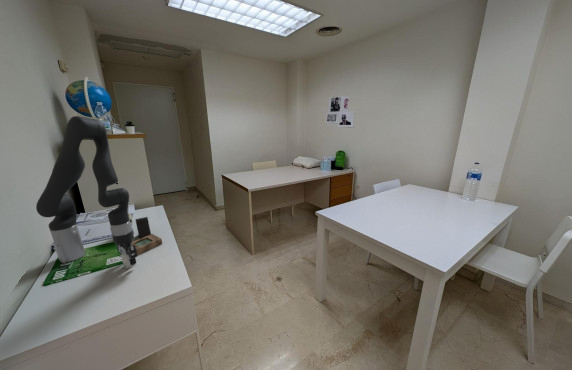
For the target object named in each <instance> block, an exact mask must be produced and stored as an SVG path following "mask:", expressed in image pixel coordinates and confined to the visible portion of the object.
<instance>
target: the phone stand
mask: <svg viewBox="0 0 572 370" xmlns="http://www.w3.org/2000/svg"><path fill="white" fill-rule="evenodd" d="M135 224H136V227H137V228H136V230H137V234H138V237H139V239H141V238H143V237H146V236H148V235H151V234H152V233H151V228H150V222H149V217H148V216H144V217H141V218H135Z"/></svg>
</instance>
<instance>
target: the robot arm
mask: <svg viewBox="0 0 572 370" xmlns="http://www.w3.org/2000/svg"><path fill="white" fill-rule="evenodd" d="M83 140H87V141H88V140H90V141H93V143H94V145H95V149H96V151H95V155H94V158H93V160H92V167H91V168H92V171H93V175H94V177H95V179H96V183H97V187H98V188H97V191H98V193H97V201H98V203H99V205H100V206H101V207H103V208H111V207H114V206H117V207H116V208H114V209H112V210H110V211H109V212H108V213H107V217H108V222H109V225H110V233H111V236H112V241H113V243H114V244H116V245H115V246H116V249H117V251H118V252H119V253H120V254H121V251H122V250H123V251H124V253H125V254H126V255H128V257H129V261H130V265H134V264H135V265H137V260H136V258H137V257H138V255H137V252H136V248H135V245H133V246H132V243H131V242H132V241H133V240H134V237H135V236H134V234H133V232H134V230H133V231H132V229H133V227H132V225H131V223H130V220H129V216H128V214H129V202H130V194H129V191H128V190H127V189H125V188H123V187H120V188H115V189H114V188H113V189H109V190H107V188H108V187H110V186H112V185H115V184H117V183H118V182H119V179H118V176H117V173H116V171H115V168H114V164H113V161H112V157H111V150H110V145H109V138H108V133H107V128H106V127H105V124H104V122H102V121H101V120H99V119H96V118H90V117H85V116H78V115H74V116H72V117H70V118H69V120H68V122H67V124H66V128H65V132H64V135H63V140H62V144H61V148H60V150H59V153H58V155H57V158H56V160H55V163H54V165H53V168H52V171H51V174H50V176H49V179H48V181H47V183H46V186H45V188H44V190H43V192H42V194H41V195H40V196H39V198H38V199H37V202H36V206H35V208H36V209H35V210H36V212H37V214H39V215H40V216H41V217H43V218H52V217H54V218H53V219H52V220H51V221H50V222H49V224H48V228H49V232H50V234H51V238H52V241H53V243H52V244H53V246H54V250H55V252H56V256H57V259H58V260H59V261H60V262H61V263H62V264H65V263H69V262H73V261H76V260H79V259H81V258H82V257H84V256H85V255H86V251H85V247H84V244H83V240H82V237H81V234H80V230H79V227H78V224H77V219H78V215H77V211H76V205H75V203H74V202H75V201H73V199H72V198H71V196H70V195H68V194H67V192H68V191H69V190H71V188H73V187H74V185H76V184H77V183H78V181H79V180H80V179H81V177H82V175H83V172H84V171H85V168H86V163H85V160H84V158H83V155H82V154H81V151H80V147H81V143H82V141H83ZM128 251H129V252H128ZM129 254H130V255H129ZM132 254H133V255H132Z"/></svg>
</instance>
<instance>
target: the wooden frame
mask: <svg viewBox="0 0 572 370" xmlns="http://www.w3.org/2000/svg"><path fill="white" fill-rule="evenodd" d="M131 243H132V246H133V245H135V248H136V252H137V256H139V255H140V254H143V253H146V252H147V251H150V250H151V249H154V248H156V247H159V246H160V245H162V244H163V240H162V237H159V236H158V235H155V234H153V233H151V235H148V236H146V237H143V238H141V239H136V240H134V241H133V240H132V241H131Z"/></svg>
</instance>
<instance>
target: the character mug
mask: <svg viewBox="0 0 572 370" xmlns="http://www.w3.org/2000/svg"><path fill="white" fill-rule="evenodd" d="M128 216H129V220H130V223H131V226H132V225H133V223H134V222H133V218H132V214H131V213H128ZM132 231H133V235H134V234H135V233H134V229H133V228H132Z"/></svg>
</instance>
